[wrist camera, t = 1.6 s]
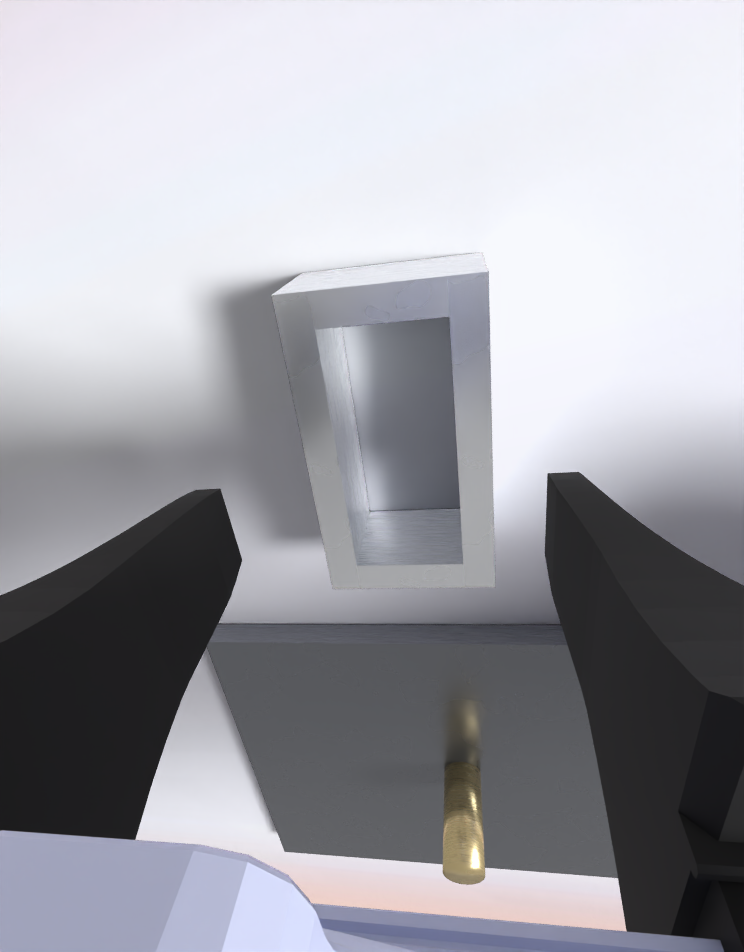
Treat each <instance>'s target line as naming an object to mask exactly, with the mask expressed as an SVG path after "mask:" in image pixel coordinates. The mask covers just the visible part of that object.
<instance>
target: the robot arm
mask: <svg viewBox="0 0 744 952" xmlns="http://www.w3.org/2000/svg"><path fill="white" fill-rule="evenodd" d="M545 557H546V563H547V569H548V575H549V581H550V586H551V592H552V596H553V600H554V603H555V606H556V610H557V613H558V616H559V619H560V623H561V626H562V629H563V632H564V635H565V639H566V642H567V645H568V648H569V651H570V654H571V658H572V661H573V664H574V667H575V670H576V674H577V677H578V680H579V683H580V686H581V690H582V694H583V698H584V701H585V705H586V709H587V714H588V719H589V724H590V729H591V734H592V739H593V744H594V749H595V754H596V759H597V764H598V769H599V775H600V780H601V785H602V790H603V796H604V801H605V806H606V812H607V817H608V823H609V829H610V834H611V840H612V846H613V852H614V857H615V863H616V869H617V874H618V880H619V886H620V893H621V899H622V905H623V911H624V917H625V923H626V930H627V932H626V931H614V930H603V929H592V928H581V927H570V926H559V925H547V924H536V923H525V922H514V921H503V920H491V919H480V918H469V917H458V916H447V915H436V914H424V913H413V912H402V911H391V910H380V909H369V908H357V907H346V906H335V905H324V904H313V903H311V902H310V900H309V899H308V898H307V896H306V895H305V894H304V893H303V892H302V891H301V890H300V888H299V887H298V886H297V885H296V884H295V883H294V881H293V880H292V879H291V878H290V877H289V876H288V875H287V874H285V873H283V872H281V871H279V870H277V869H275V868H273V867H271V866H269V865H267V864H265V863H263V862H261V861H259V860H257V859H255V858H253V857H251V856H249V855H246V854H242V853H237V852H232V851H228V850H223V849H218V848H213V847H209V846H204V845H196V844H182V843H168V842H155V841H141V840H135V839H136V835H137V832H138V829H139V825H140V822H141V818H142V815H143V812H144V808H145V805H146V801H147V798H148V795H149V791H150V788H151V785H152V782H153V779H154V776H155V773H156V770H157V767H158V764H159V761H160V758H161V755H162V752H163V749H164V746H165V743H166V740H167V737H168V734H169V732H170V729H171V726H172V724H173V721H174V718H175V715H176V713H177V710H178V707H179V705H180V702H181V699H182V697H183V695H184V692H185V690H186V688H187V686H188V683H189V681H190V679H191V677H192V675H193V673H194V671H195V669H196V667H197V665H198V663H199V661H200V659H201V657H202V655H203V653H204V651H205V649H206V647H207V645H208V643H209V641H210V639H211V637H212V635H213V633H214V631H215V629H216V627H217V625H218V622H219V620H220V618H221V616H222V614H223V612H224V610H225V608H226V606H227V604H228V601H229V599H230V597H231V594H232V591H233V588H234V585H235V582H236V579H237V576H238V572H239V569H240V566H241V562H242V558H241V555H240V552H239V548H238V545H237V542H236V539H235V535H234V532H233V529H232V525H231V522H230V519H229V516H228V512H227V509H226V506H225V502H224V499H223V496H222V493H221V489H207V490H195V491H193V492H190V493H188V494H186V495H184V496H182V497H181V498H179V499H177V500H175V501H174V502H172V503H170V504H168V505H167V506H165V507H163V508H162V509H160V510H159V511H157V512H155V513H154V514H152V515H150V516H149V517H147V518H146V519H144V520H142V521H141V522H139V523H137V524H136V525H134V526H133V527H131V528H129V529H128V530H126V531H125V532H123V533H121V534H120V535H118V536H116V537H115V538H113V539H111V540H109V541H108V542H106V543H104V544H102V545H101V546H99V547H97V548H95V549H94V550H92V551H90V552H89V553H87V554H85V555H83V556H82V557H80V558H78V559H76V560H74V561H73V562H71V563H69V564H67V565H65V566H63V567H61V568H59V569H57V570H55V571H53V572H51V573H49V574H47V575H45V576H43V577H41V578H39V579H37V580H35V581H33V582H31V583H28V584H26V585H24V586H22V587H20V588H17V589H15V590H13V591H10V592H8V593H5V594H3V595H1V596H0V952H744V586H743V585H741V584H739V583H737V582H735V581H733V580H731V579H729V578H728V577H726V576H724V575H722V574H720V573H719V572H717V571H715V570H713V569H711V568H710V567H708V566H706V565H704V564H703V563H701V562H699V561H697V560H696V559H694V558H692V557H691V556H689V555H687V554H686V553H684V552H683V551H681V550H679V549H678V548H676V547H675V546H673V545H672V544H670V543H669V542H667V541H666V540H665V539H663V538H662V537H660V536H659V535H657V534H656V533H654V532H653V531H651V530H650V529H649V528H647V527H646V526H645V525H643V524H642V523H641V522H639V521H638V520H637V519H635V518H634V517H633V516H631V515H630V514H629V513H628V512H626V511H625V510H624V509H622V508H621V507H620V506H619V505H618V504H616V503H615V502H614V501H613V500H611V499H610V498H609V497H608V496H607V495H605V494H604V493H603V492H602V491H601V490H600V489H598V488H597V487H596V486H595V485H594V484H593V483H591V482H590V481H589V480H588V479H587V478H586V477H584V476H583V475H582V474H581V473H579V472H570V473H548V480H547V508H546V536H545Z"/></svg>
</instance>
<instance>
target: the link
mask: <svg viewBox="0 0 744 952" xmlns="http://www.w3.org/2000/svg"><path fill="white" fill-rule="evenodd" d="M271 296H272V301H273V305H274V310H275V315H276V320H277V325H278V329H279V334H280V339H281V344H282V348H283V353H284V358H285V363H286V368H287V372H288V377H289V382H290V387H291V392H292V396H293V401H294V406H295V411H296V415H297V420H298V425H299V430H300V435H301V439H302V444H303V449H304V454H305V459H306V463H307V468H308V473H309V478H310V482H311V487H312V492H313V497H314V502H315V506H316V511H317V516H318V521H319V525H320V530H321V535H322V540H323V545H324V549H325V554H326V559H327V564H328V569H329V573H330V578H331V583H332V588H333V589H376V588H482V587H495V555H494V507H493V460H492V412H491V364H490V316H489V271H488V268H487V265H486V262H485V259H484V256H483V253H482V252H480V253H471V254H463V255H454V256H445V257H437V258H428V259H419V260H411V261H402V262H393V263H385V264H376V265H367V266H359V267H350V268H341V269H333V270H324V271H315V272H307V273H301V274H300V275H299V276H297V277H296V278H294V279H293V280H292V281H290V282H289V283H287V284H286V285H285V286H283V287H282V288H281V289H279V290H278V291H276V292H275V293H274V294H272V295H271ZM443 317H449V318H450V336H451V354H452V371H453V389H454V407H455V425H456V443H457V460H458V478H459V496H460V508H457V509H428V510H400V511H371V512H370V509H369V503H368V496H367V490H366V483H365V476H364V470H363V463H362V457H361V450H360V444H359V437H358V431H357V424H356V417H355V411H354V404H353V398H352V391H351V385H350V378H349V371H348V365H347V358H346V352H345V345H344V339H343V332H342V327H349V326H359V325H370V324H380V323H391V322H401V321H412V320H422V319H432V318H443Z"/></svg>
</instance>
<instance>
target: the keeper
mask: <svg viewBox="0 0 744 952" xmlns="http://www.w3.org/2000/svg"><path fill="white" fill-rule="evenodd" d="M207 649H208V651H209V654H210V657H211V659H212V662H213V664H214V667H215V670H216V672H217V675H218V678H219V680H220V683H221V685H222V688H223V691H224V693H225V696H226V699H227V701H228V704H229V706H230V709H231V712H232V714H233V717H234V720H235V722H236V725H237V728H238V730H239V733H240V735H241V738H242V741H243V743H244V746H245V749H246V751H247V754H248V756H249V759H250V762H251V764H252V767H253V770H254V772H255V775H256V777H257V780H258V783H259V785H260V788H261V791H262V793H263V796H264V799H265V801H266V804H267V806H268V809H269V812H270V814H271V817H272V820H273V822H274V825H275V827H276V830H277V833H278V835H279V838H280V841H281V843H282V846H283V848H284V851H285V852H295V853H308V854H321V855H333V856H346V857H359V858H371V859H384V860H397V861H409V862H422V863H435V864H443V874H444V876H445V877H446V878H447V879H449V880H451V881H453V882H455V883H459V884H467V885H468V884H476V883H479V882H481V881H483V880H484V878H485V868H498V869H510V870H523V871H536V872H548V873H561V874H574V875H586V876H599V877H611V878H618V874H617V869H616V863H615V857H614V852H613V846H612V840H611V834H610V829H609V823H608V817H607V812H606V806H605V801H604V796H603V790H602V785H601V780H600V775H599V769H598V764H597V759H596V754H595V749H594V744H593V739H592V734H591V729H590V724H589V719H588V714H587V709H586V705H585V701H584V698H583V694H582V690H581V686H580V683H579V680H578V677H577V674H576V670H575V667H574V664H573V661H572V658H571V654H570V651H569V648H568V645H567V642H566V639H565V635H564V632H563V629H562V626H561V625H351V624H218V625H217V627H216V629H215V631H214V633H213V635H212V637H211V639H210V641H209V643H208V645H207Z"/></svg>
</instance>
